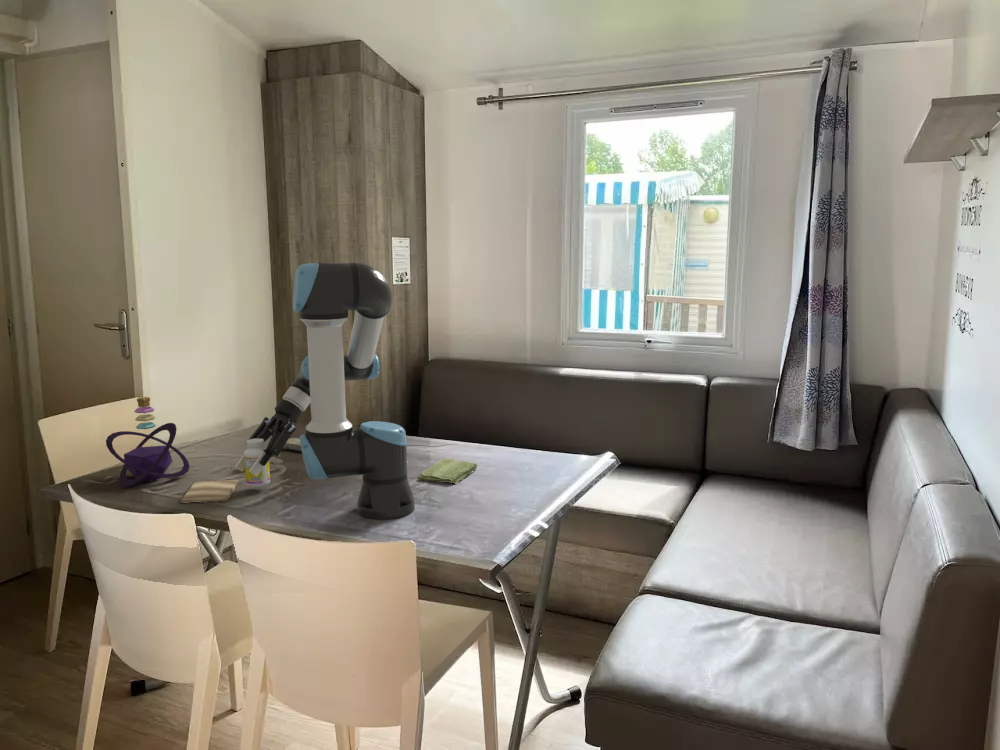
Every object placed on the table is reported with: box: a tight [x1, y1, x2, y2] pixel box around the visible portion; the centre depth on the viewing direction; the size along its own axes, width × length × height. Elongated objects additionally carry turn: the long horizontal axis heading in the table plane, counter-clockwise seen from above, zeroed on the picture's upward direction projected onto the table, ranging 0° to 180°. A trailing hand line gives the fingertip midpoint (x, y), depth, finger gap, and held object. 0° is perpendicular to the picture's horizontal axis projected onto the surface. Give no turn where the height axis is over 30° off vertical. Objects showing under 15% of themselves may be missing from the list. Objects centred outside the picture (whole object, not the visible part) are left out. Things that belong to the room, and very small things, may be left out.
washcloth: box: [417, 457, 478, 484], centre depth 224 cm, size 13×18×3 cm
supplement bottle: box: [243, 438, 271, 488], centre depth 209 cm, size 7×7×13 cm
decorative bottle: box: [105, 396, 190, 489], centre depth 220 cm, size 22×21×25 cm
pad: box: [180, 479, 239, 504], centre depth 209 cm, size 16×12×1 cm
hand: (245, 471), depth 207 cm, fingers closed on supplement bottle, 7 cm apart
